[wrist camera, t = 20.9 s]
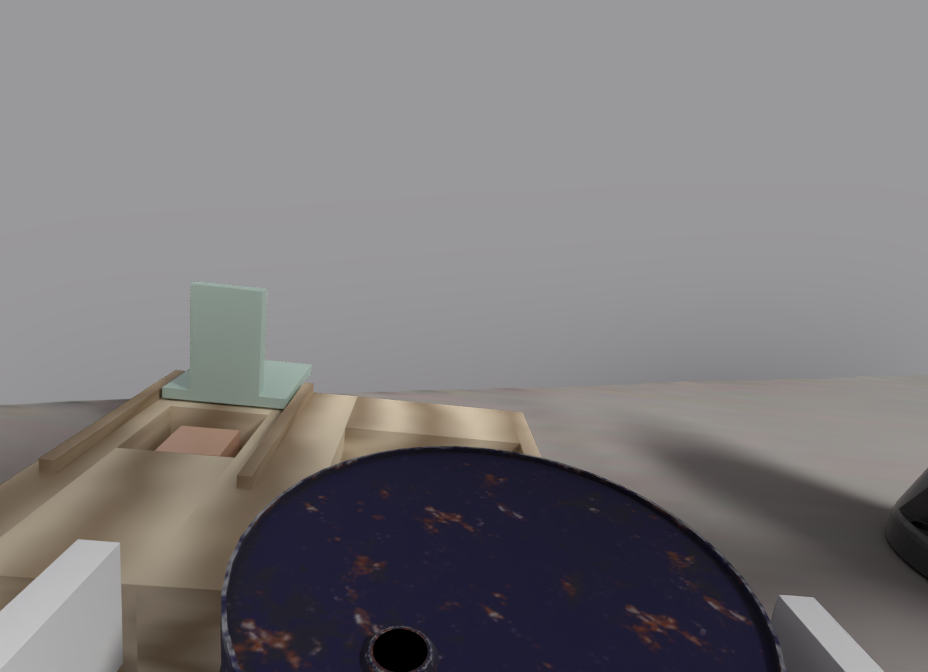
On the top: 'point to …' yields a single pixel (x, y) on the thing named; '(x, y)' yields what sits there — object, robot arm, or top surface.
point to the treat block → (202, 441)
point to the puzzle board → (201, 498)
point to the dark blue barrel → (481, 575)
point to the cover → (233, 351)
